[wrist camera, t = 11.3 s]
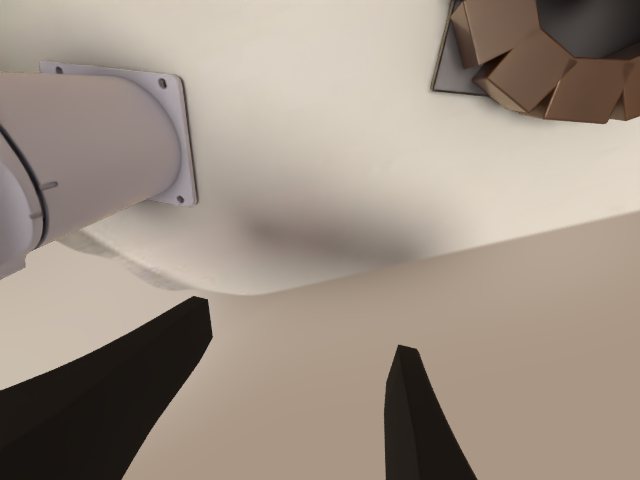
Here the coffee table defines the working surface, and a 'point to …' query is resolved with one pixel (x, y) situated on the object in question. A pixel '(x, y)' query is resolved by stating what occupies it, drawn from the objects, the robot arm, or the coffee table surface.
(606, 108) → the ring
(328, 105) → the coffee table surface
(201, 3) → the coffee table surface
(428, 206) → the coffee table surface
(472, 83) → the rack
